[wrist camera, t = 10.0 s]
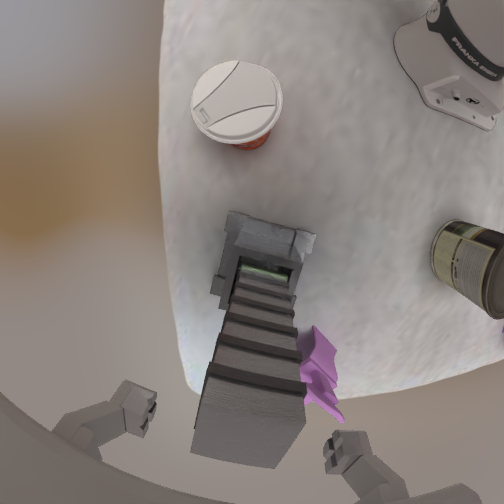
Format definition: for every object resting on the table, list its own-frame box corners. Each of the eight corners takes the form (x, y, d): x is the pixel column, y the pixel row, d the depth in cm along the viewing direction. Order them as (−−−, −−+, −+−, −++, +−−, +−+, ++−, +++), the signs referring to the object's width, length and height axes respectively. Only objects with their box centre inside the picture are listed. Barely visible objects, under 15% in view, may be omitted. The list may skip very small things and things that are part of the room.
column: (286, 272, 26) (311, 420, 9) (274, 311, 27) (276, 470, 10) (243, 260, 26) (197, 398, 9) (233, 300, 27) (186, 452, 10)
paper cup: (238, 169, 34) (218, 160, 20) (206, 123, 32) (169, 89, 19) (290, 137, 32) (304, 107, 19) (257, 91, 31) (249, 40, 17)
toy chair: (263, 352, 40) (259, 426, 25) (309, 320, 38) (327, 390, 24) (295, 382, 41) (302, 453, 27) (340, 353, 39) (364, 422, 25)
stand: (313, 231, 35) (330, 250, 25) (289, 305, 38) (295, 346, 27) (232, 209, 35) (216, 219, 25) (214, 285, 38) (195, 321, 27)
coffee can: (457, 205, 32) (520, 219, 19) (481, 251, 34) (536, 276, 20) (418, 251, 34) (476, 284, 21) (445, 294, 36) (496, 334, 22)
